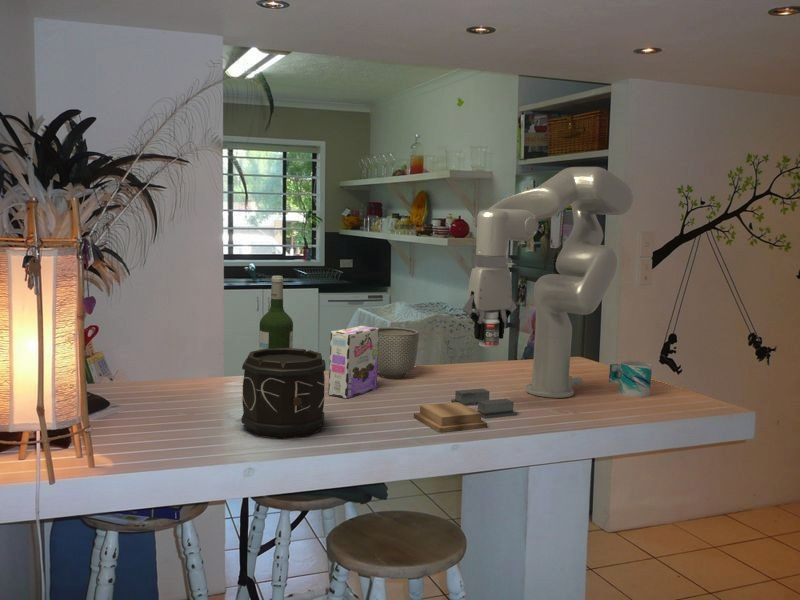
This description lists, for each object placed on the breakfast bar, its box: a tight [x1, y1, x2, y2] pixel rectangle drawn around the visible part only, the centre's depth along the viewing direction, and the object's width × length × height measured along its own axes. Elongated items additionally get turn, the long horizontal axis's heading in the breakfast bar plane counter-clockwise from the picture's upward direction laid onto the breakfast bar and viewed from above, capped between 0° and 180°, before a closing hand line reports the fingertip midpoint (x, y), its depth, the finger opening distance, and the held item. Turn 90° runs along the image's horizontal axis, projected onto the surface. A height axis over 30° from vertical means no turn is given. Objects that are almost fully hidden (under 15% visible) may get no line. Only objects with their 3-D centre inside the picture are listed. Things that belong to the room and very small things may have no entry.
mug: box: [608, 360, 653, 399], centre depth 203 cm, size 8×12×8 cm
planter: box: [377, 326, 420, 380], centre depth 211 cm, size 14×14×13 cm
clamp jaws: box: [450, 388, 518, 419], centre depth 181 cm, size 9×15×3 cm, turn 26°
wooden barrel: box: [240, 347, 327, 440], centre depth 158 cm, size 18×18×16 cm
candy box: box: [328, 325, 379, 399], centre depth 190 cm, size 14×6×16 cm, turn 148°
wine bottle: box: [258, 275, 294, 350], centre depth 179 cm, size 8×8×30 cm
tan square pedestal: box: [413, 402, 488, 433], centre depth 167 cm, size 12×12×3 cm
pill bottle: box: [478, 311, 500, 348], centre depth 179 cm, size 5×5×8 cm
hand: (488, 337), depth 179 cm, fingers closed on pill bottle, 4 cm apart
